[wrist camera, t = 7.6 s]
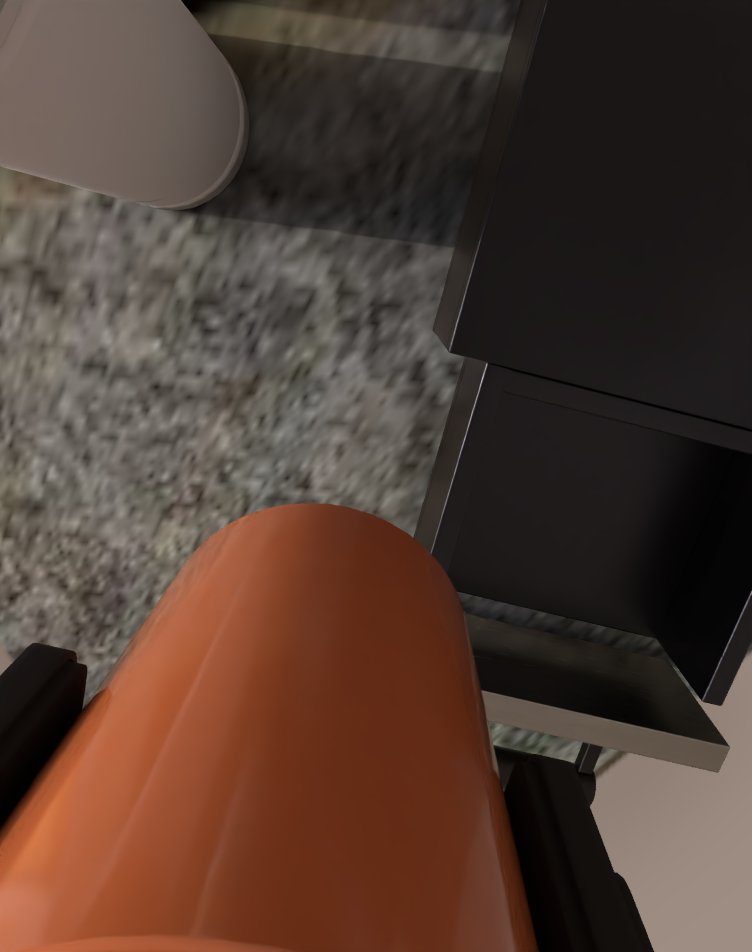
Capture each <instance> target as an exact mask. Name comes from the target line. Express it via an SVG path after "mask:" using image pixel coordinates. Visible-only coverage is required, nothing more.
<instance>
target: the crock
mask: <svg viewBox="0 0 752 952" xmlns="http://www.w3.org/2000/svg"><path fill="white" fill-rule="evenodd" d="M0 952H539V950H538V945H537V941H536V936H535V932H534V927H533V923H532V918H531V914H530V909H529V905H528V900H527V896H526V891H525V886H524V882H523V877H522V873H521V868H520V864H519V859H518V855H517V850H516V846H515V841H514V836H513V832H512V827H511V823H510V818H509V814H508V809H507V805H506V800H505V796H504V791H503V787H502V782H501V777H500V773H499V768H498V764H497V759H496V755H495V750H494V746H493V741H492V737H491V732H490V728H489V723H488V718H487V714H486V709H485V705H484V700H483V696H482V691H481V687H480V682H479V678H478V673H477V668H476V664H475V659H474V655H473V650H472V646H471V641H470V637H469V632H468V628H467V623H466V619H465V614H464V610H463V607H462V604H461V602H460V599H459V596H458V593H457V591H456V590H455V588H454V586H453V584H452V582H451V580H450V578H449V576H448V575H447V574H446V572H445V571H444V570H443V568H442V567H441V565H440V564H439V563H438V561H437V560H436V559H435V558H434V557H433V556H432V555H431V554H430V553H429V552H428V551H427V550H426V549H425V547H424V546H422V545H421V544H420V543H419V542H417V541H416V540H415V539H414V538H412V537H411V536H410V535H409V534H407V533H406V532H404V531H402V530H401V529H399V528H398V527H396V526H394V525H393V524H391V523H389V522H387V521H385V520H383V519H380V518H378V517H376V516H374V515H371V514H369V513H365V512H362V511H359V510H355V509H352V508H348V507H342V506H337V505H331V504H316V503H302V504H288V505H282V506H277V507H272V508H267V509H264V510H261V511H258V512H255V513H252V514H249V515H246V516H244V517H242V518H240V519H238V520H236V521H234V522H232V523H230V524H228V525H227V526H225V527H224V528H222V529H221V530H219V531H218V532H216V533H215V534H213V535H212V536H211V537H210V538H208V539H207V540H206V541H205V542H204V543H203V544H202V545H201V546H200V547H198V548H197V549H196V551H195V552H194V553H193V554H192V555H191V557H190V558H189V559H188V560H187V562H186V563H185V564H184V565H183V567H182V568H181V570H180V571H179V573H178V574H177V575H176V577H175V578H174V580H173V581H172V583H171V584H170V585H169V587H168V588H167V590H166V591H165V593H164V594H163V595H162V597H161V598H160V600H159V601H158V603H157V604H156V605H155V607H154V608H153V610H152V611H151V613H150V614H149V615H148V617H147V618H146V620H145V621H144V623H143V624H142V625H141V627H140V628H139V630H138V631H137V633H136V634H135V635H134V637H133V638H132V640H131V641H130V643H129V644H128V645H127V647H126V648H125V650H124V651H123V653H122V654H121V655H120V657H119V658H118V660H117V661H116V663H115V664H114V665H113V667H112V668H111V670H110V671H109V673H108V674H107V675H106V677H105V678H104V680H103V681H102V682H101V684H100V685H99V687H98V688H97V690H96V691H95V692H94V694H93V695H92V697H91V698H90V700H89V701H88V702H87V704H86V705H85V707H84V708H83V710H82V711H81V712H80V714H79V715H78V717H77V718H76V720H75V721H74V722H73V724H72V725H71V727H70V728H69V730H68V731H67V732H66V734H65V735H64V737H63V738H62V740H61V741H60V742H59V744H58V745H57V747H56V748H55V750H54V751H53V752H52V754H51V755H50V757H49V758H48V760H47V761H46V762H45V764H44V765H43V767H42V768H41V770H40V771H39V772H38V774H37V775H36V777H35V778H34V780H33V781H32V782H31V784H30V785H29V787H28V788H27V790H26V791H25V792H24V794H23V795H22V797H21V798H20V800H19V801H18V802H17V804H16V805H15V807H14V808H13V810H12V811H11V812H10V814H9V815H8V817H7V818H6V819H5V821H4V822H3V824H2V825H1V827H0Z"/></svg>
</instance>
